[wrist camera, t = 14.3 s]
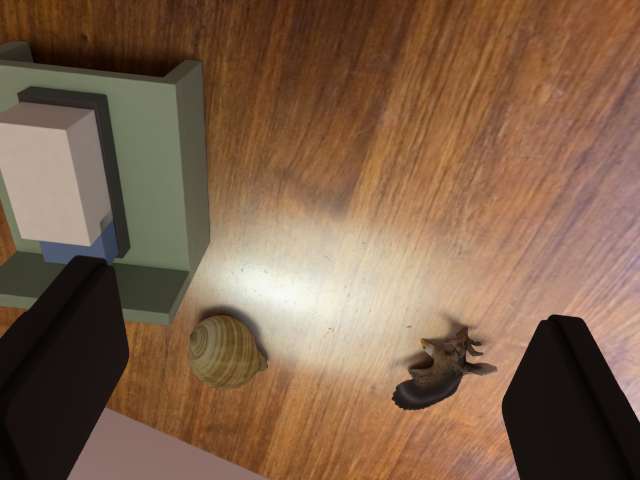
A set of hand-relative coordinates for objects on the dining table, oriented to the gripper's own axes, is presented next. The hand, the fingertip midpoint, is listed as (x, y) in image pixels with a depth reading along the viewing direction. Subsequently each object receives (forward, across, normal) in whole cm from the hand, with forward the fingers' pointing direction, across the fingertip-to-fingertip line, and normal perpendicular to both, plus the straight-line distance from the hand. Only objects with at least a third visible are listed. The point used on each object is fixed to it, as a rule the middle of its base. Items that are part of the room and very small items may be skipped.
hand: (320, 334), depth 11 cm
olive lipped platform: (+28, +18, +10) cm, 35 cm away
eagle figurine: (+28, -13, +28) cm, 42 cm away
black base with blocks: (+22, +18, +9) cm, 30 cm away
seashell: (+28, +8, +30) cm, 42 cm away
